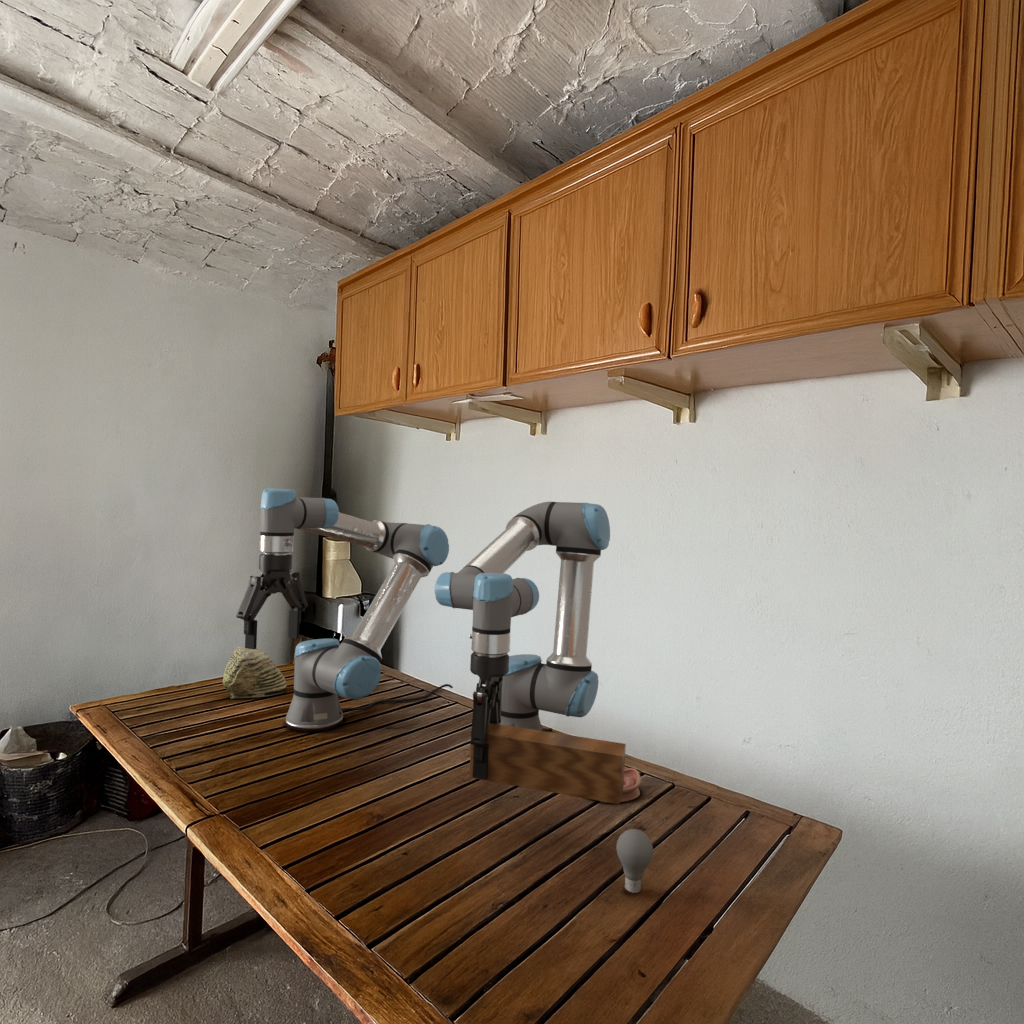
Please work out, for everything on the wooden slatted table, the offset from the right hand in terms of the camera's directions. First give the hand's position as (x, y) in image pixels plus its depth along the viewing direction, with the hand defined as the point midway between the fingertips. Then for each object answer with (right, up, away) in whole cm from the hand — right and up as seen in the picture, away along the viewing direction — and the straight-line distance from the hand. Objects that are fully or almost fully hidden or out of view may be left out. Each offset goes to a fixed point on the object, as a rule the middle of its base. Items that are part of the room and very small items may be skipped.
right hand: (484, 769), depth 124 cm
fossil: (-75, -7, +74) cm, 106 cm away
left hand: (-51, +19, +26) cm, 61 cm away
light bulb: (+25, -13, -18) cm, 34 cm away
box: (+12, -1, -3) cm, 12 cm away
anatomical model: (+27, -12, +18) cm, 35 cm away
